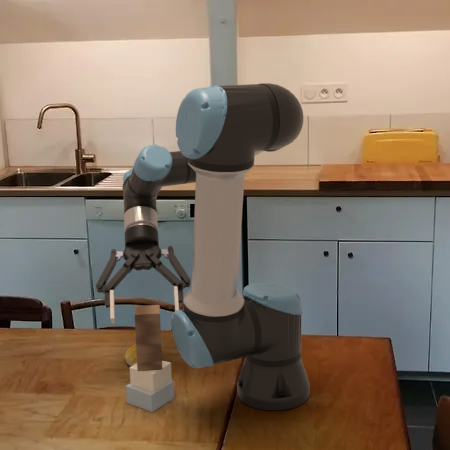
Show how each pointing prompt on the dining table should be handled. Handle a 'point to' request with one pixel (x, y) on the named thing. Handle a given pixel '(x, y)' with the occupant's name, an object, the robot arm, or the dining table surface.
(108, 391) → the dining table surface
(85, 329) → the dining table surface
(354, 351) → the dining table surface
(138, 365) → the pillar
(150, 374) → the tower top
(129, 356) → the bread roll
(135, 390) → the tower base
